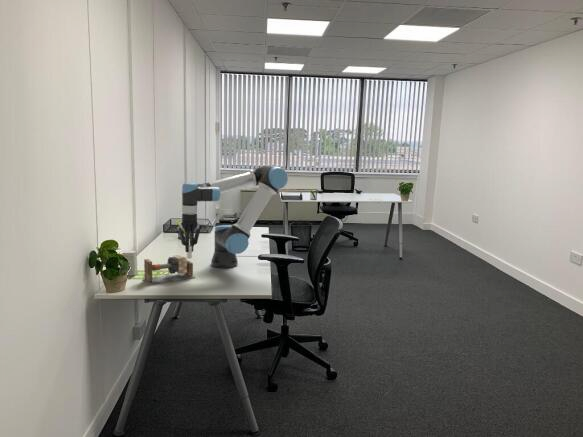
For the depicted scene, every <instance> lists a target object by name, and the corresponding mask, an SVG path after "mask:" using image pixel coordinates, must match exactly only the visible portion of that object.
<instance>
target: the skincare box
mask: <svg viewBox="0 0 583 437" xmlns="http://www.w3.org/2000/svg"><path fill="white" fill-rule="evenodd" d="M122 255H123V256H125V257H126V258H127V260H128V261H129V264H130V267H131V269H130V271H129V272H128V275H127V276H136V275H137V274H138V258H137V257H138V256H137V250H124V251H123V252H122V253H121V256H122Z"/></svg>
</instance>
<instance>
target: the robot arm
mask: <svg viewBox="0 0 583 437" xmlns="http://www.w3.org/2000/svg"><path fill="white" fill-rule="evenodd" d="M288 178H289V177H288V174H287V171H286V170H285V169H283V167H280V166H272V165H262V166H259V167H256V168H253V169H249V170H248V172H245V173H242V174H236V175H232V176H228V177H224V178H220V179H217V180H213V181H209V182H205V183H195V182H185V183H184V182H183V184H182V188H181V194H182V195H181V197H182V198H181V200H182V203H181V209H182V210H181V212H182V214H181V221H182V222H181V224H180V226H177V227H176V229H177V231H178V234H179V238H180V242H181V245H183V246H184V247H185V248H184V250H185V252H186V258H187V259H189V260H191V259H192V257H193V255H192V254H193V252H194V246H195V245H198V240H199V236H200V234H201V233H200V232H201V230H202V229H203V226H202V225H199V223H198V214H197V213H198V203H199V202H219V201H220V199H221V194H223V193H226V192H230V191H234V190H238V189H242V188H247V187H249V186H252V187H256V186H258V188H257V189H256V191H255V193H254V194H253V196H252V198H251V199H250V201H249V202H248V204H247V206H246V207H245V209H244V211H243V212H242V214H241V216H240V217H239V219H237V220H238V221H237V222H236V223H233V224H223V225H216V226H215V227H214V251H213V255H212V257H211V260H210V262H211V263H210V264H211V265H210V266H212V267H214V268H220V269H229V268H234V267H237V266H238V262H239V261H238V257H237V255H239V254H242V253H244V252H245V251H246V250H247V249H248V247H249V239H250V238H251V231H252V228H253V227H254V226H255V224H256V222H257V221H258V220H259V217H260V216H261V215H262V213H263V210H264V209H265V208H266V206H267V204H268V202H269V201H270V200H271V198H272V197H273V195H277V194H278V191H279V190H280V189H283V188H284V187H285V186H286V185H287V183H288ZM183 230H184V231H183Z"/></svg>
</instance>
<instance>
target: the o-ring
mask: <svg viewBox="0 0 583 437" xmlns="http://www.w3.org/2000/svg"><path fill="white" fill-rule="evenodd" d="M168 263H171V264H172V268H167V269H168V272H169V273H170V275H173V274H176V273H177V272H176V269H177V265H176V260H175V258H174V257H173V256H169V257H168V259H167V263H166V264H168Z"/></svg>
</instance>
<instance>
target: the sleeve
mask: <svg viewBox="0 0 583 437" xmlns="http://www.w3.org/2000/svg"><path fill="white" fill-rule="evenodd" d="M172 257H174V258H175V260H176V262H178V267H177V269H176V272H175V273H176V274H184V273H187V261H188V258H187V257H185V256H184V255H182V254H176V255H173V256H172Z"/></svg>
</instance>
